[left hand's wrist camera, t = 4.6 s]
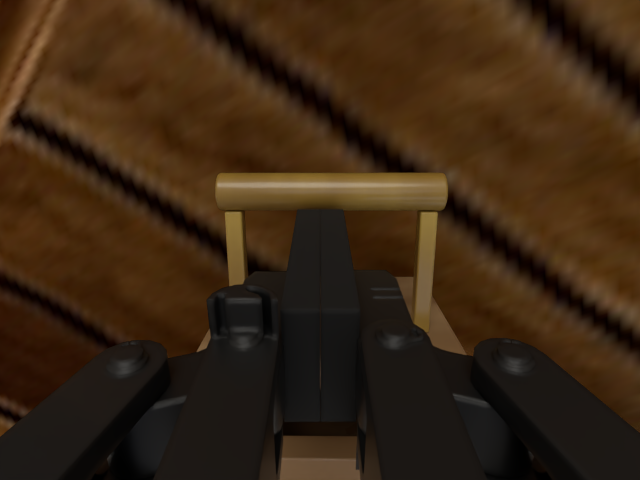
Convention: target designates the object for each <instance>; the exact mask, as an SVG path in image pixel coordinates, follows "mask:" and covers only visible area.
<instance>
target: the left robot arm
mask: <svg viewBox="0 0 640 480" xmlns="http://www.w3.org/2000/svg"><path fill="white" fill-rule="evenodd" d="M207 308H208V317H209V326H210V336H211V338H210V341H209V343H208V345H207V348H206V349H203V350H201V351H198V352H195V353H191V354H187V355H182V356H177V357H172V358H168V357H167V351H166V349H165V348H164V347H163V346H162V345H161V344H160V343H157V342H153V341H150V340H134V341H130V342H129V341H127V342H123V343H120V344H118V345H116V346H113V347H110V348H108V349H106V350H105V351H103V352H102V353H100V354H99V355H97V356H96V357H95V358H93V359H92V360H91V361H90V362H89V363H87V364H86V365H85V366H84V367H83V368H81V369H80V370H79V371H78V372H77V373H76V374H74V375H73V376H72V377H71V378H70V379H68V380H67V381H66V382H65V383H64V384H62V385H61V386H60V387H59V388H58V389H57V390H55V391H54V392H53V393H52V394H51V395H49V396H48V397H47V398H46V399H45V400H43V401H42V402H41V403H40V404H39V405H38V406H36V407H35V408H34V409H33V410H32V411H30V412H29V413H28V414H27V415H26V416H24V417H23V418H22V419H21V420H20V421H19V422H17V423H16V424H15V425H14V426H13V427H11V428H10V429H9V430H8V431H7V432H5V433H4V434H3V435H2V436H1V437H0V480H280V471H281V461H282V450H283V418H284V422H320V360H321V422H356V411H357V420H358V422H357V447H356V470H359V471H360V480H640V433H639V432H638V431H636V430H635V429H634V428H633V427H632V426H630V425H629V424H628V423H627V422H626V421H624V420H623V419H622V418H621V417H620V416H618V415H617V414H616V413H615V412H614V411H612V410H611V409H610V408H609V407H608V406H606V405H605V404H604V403H603V402H602V401H600V400H599V399H598V398H597V397H596V396H594V395H593V394H592V393H591V392H590V391H588V390H587V389H586V388H585V387H584V386H582V385H581V384H580V383H579V382H578V381H576V380H575V379H574V378H573V377H572V376H571V375H569V374H568V373H567V372H566V371H565V370H563V369H562V368H561V367H560V366H559V365H557V364H556V363H555V362H554V361H553V360H551V359H550V358H549V357H548V356H547V355H545V354H544V353H542V352H541V351H539V350H538V349H536V348H535V347H533V346H531V345H528V344H525V343H523V342H521V341H518V340H514V339H512V340H511V339H507V338H491V339H488V340H484V341H481V342H480V343H479V344H478V345H477V346H476V347H475V348H474V355H473V356H468V355H463V354H458V353H453V352H449V351H446V350H442V349H440V348H437V347H435V346H433V345H432V342H431V340H430V337H429V336H428V335H427V333H426V332H425V331H424V330H423V329H422V328H420V327H419V326H417V325H415V324H413V322H412V319H411V316H410V314H409V311H408V308H407V305H406V303H405V300H404V299H403V295H402V292H401V290H400V287H399V284H398V281H397V279H396V278H395V277H394V276H393V275H391V274H390V273H389V272H387V271H386V270H353V264H352V258H351V252H350V247H349V241H348V235H347V229H346V223H345V217H344V211H343V209H298V210H297V215H296V221H295V227H294V233H293V239H292V245H291V250H290V256H289V262H288V268H287V272H258V271H255V272H254V273H253V274H251V275H250V276H249V277H247V278H246V279H245V280H244V282H243V284H238V285H232V286H228V287H225V288H222V289H220V290H218V291H216V292H214V293H212V294H211V296H210V297H209V298H208V299H207Z"/></svg>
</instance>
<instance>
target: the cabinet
mask: <svg viewBox="0 0 640 480" xmlns="http://www.w3.org/2000/svg"><path fill="white" fill-rule="evenodd" d="M356 447H357V436H283V450H282V461H281V471H280V480H360V471H359V470H356Z"/></svg>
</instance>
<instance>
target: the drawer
mask: <svg viewBox="0 0 640 480" xmlns="http://www.w3.org/2000/svg"><path fill="white" fill-rule="evenodd" d="M215 197H216V203H217V206H218V208H219V209H220V210H227V211H226V212H225V225H226V241H227V256H228V272H229V286H232V285H238V284H243V282H244V280H245V279H246V278H247V277H248V268H247V249H246V229H245V211H244V210H298V209H343V210H418V211H417V227H416V243H415V260H414V276H413V277H395V278H396V279H397V281H398V284H399V287H400V290H401V292H402V295H403V299H404V300H405V303H406V305H407V308H408V311H409V314H410V316H411V319H412V322H413V324H415V325H417V326H419V327H420V328H422V329H423V330H424V331H425V332H426V333H427V335H428V336H429V337H430V340H431V342H432V345H433V346H435V347H437V348H440V349H442V350H446V351H449V352H453V353H458V354H463V355H467V354H466V352H465V351H464V349H463V347H462V346H461V344H460V342H459V341H458V339H457V337H456V336H455V334H454V332H453V330H452V329H451V327H450V325H449V324H448V322H447V320H446V319H445V317H444V315H443V313H442V312H441V310H440V308H439V307H438V305H437V303H436V302H435V300H434V298H433V297H432V285H433V271H434V258H435V244H436V231H437V217H438V213H437V211H435V210H439V211H440V210H443V209H444V208H445V205H446V202H447V197H448V183H447V178H446V176H445V174H443V173H220V174H218V176H217V178H216V183H215ZM210 338H211V336H210V328H209V330H208V332H207V334H206V336H205V337H204V339H203V341H202V343H201V345H200V346H199V348H198V350H197V352H198V351H201V350H203V349H206V348H207V345H208V343H209V341H210ZM357 422H358V420H357V411H356V422H321V360H320V422H284V418H283V436H357Z"/></svg>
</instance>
